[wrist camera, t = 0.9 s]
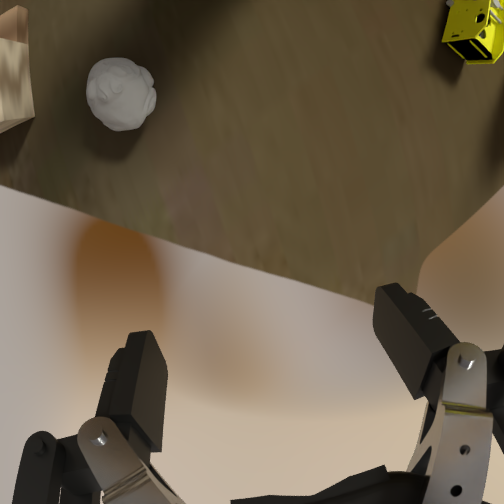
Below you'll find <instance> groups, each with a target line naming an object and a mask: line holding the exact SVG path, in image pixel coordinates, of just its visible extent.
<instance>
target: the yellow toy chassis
mask: <svg viewBox="0 0 504 504" xmlns="http://www.w3.org/2000/svg"><path fill="white" fill-rule="evenodd" d="M446 4H447V5H448V6H449V7H450V11H449V15H448V19H447V23H446V27H445V31H444V34H443V38H442V42H446V43H447V45H448V46H449V47H451V48H452V49H453V50H454V51H455V52H456V53H457V54H459V55H460V56H461V57H462V58H463V59H466V60H467V62H466V63H467V64H494V63H495V61H496V60H497V59H498V58H499V57H500V56H501V54H502V53H503V52H504V0H448V1H447V2H446Z"/></svg>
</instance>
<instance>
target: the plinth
mask: <svg viewBox="0 0 504 504" xmlns="http://www.w3.org/2000/svg"><path fill="white" fill-rule="evenodd" d="M33 117H35V113H34V106H33V98H32V89H31V79H30V67H29V48H28V9H26V8H23V7H21V6H18V5H17V6H15V7H14V8H12V9H10V10H9V11H7V12H6V13H4V14H2V15H1V16H0V133H2V132H4V131H6V130H8V129H10V128H12V127H14V126H16V125H18V124H20V123H22V122H24V121H26V120H29V119H31V118H33Z"/></svg>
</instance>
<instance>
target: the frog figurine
mask: <svg viewBox="0 0 504 504" xmlns="http://www.w3.org/2000/svg"><path fill="white" fill-rule="evenodd" d="M153 84H154V79H153V78H152V76H151V74H150V73H149V72H148V70H147V69H145V68H144V67H141V66H137V65H136V64H135V63H134V62H133V61H131V60H129V59H126V58H106V59H103V60H101V61H99V62H98V63H96V64H95V65H94V66H93V67H92V69H91V71H90V73H89V76H88V81H87V88H86V96H87V102H88V105H89V106H90V107H91V110H92V112H93V114H94V115H95V116H96V117H97V118H98V119H100V120H101V121H103V124H104V125H105V126H107V127H109V128H110V129H112V130H115V131H124V130H132V129H136V128H139V127H140V126H141V125H142V123H143V122H144V120H145V118H146V116H148V115H149V114H150V113H151V112H152V111H153V110H154V108H155V103H156V91H155V89H154V88H152V86H153Z"/></svg>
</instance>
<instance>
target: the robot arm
mask: <svg viewBox="0 0 504 504" xmlns="http://www.w3.org/2000/svg"><path fill="white" fill-rule="evenodd" d="M373 328H374V332H375V335H376V336H377V338H378V340H379V341H380V343H381V345H382V346H383V348H384V349H385V351H386V353H387V354H388V356H389V358H390V359H391V361H392V362H393V364H394V366H395V368H396V369H397V371H398V373H399V374H400V376H401V378H402V380H403V381H404V383H405V384H406V386H407V388H408V390H409V392H410V393H411V395H412V397H413V399H414V400H416V399H418V398H421V397H423V396H425V397H426V398H427V400H428V402H427V404H426V408H425V413H424V417H423V422H422V426H421V430H420V434H419V438H418V442H417V445H416V449H415V452H414V454H413V456H412V458H411V460H410V463H409V465H408V468H407V471H406V472H404V471H391V472H387V470H386V467H385V465H382V466H379V467H377V468H374V469H371V470H368V471H365V472H362V473H359V474H356V475H353V476H349V477H347V478H346V479H344V480H342V481H340V482H339V483H336V484H335V485H333V486H331V487H329V488H327V489H325V490H323V491H321V492H319V493H317V494H315V495H311V496H279V495H267V496H260V497H253V498H245V499H236V500H231V504H490V503H488V502H485V501H482V497H483V493H484V488H485V483H486V477H487V471H488V465H489V458H490V449H491V440H492V433H493V435H494V436H495V438H496V440H497V442H498V444H499V446H500V448H501V450H502V452H503V454H504V345H503V347H502V349H499V350H493V351H485V352H483V351H482V350H481V349H480V348H479V347H478V346H476V345H474V344H472V343H467V342H460V341H459V340H458V339H457V338H456V337H455V335H454V334H453V333H452V332H451V331H450V329H449V328H448V327H447V326H446V325H445V324H444V322H443V321H442V320H441V319H440V318H439V317H437V314H436V313H435V312H434V311H433V310H431V308H430V306H429V305H428V304H427V303H426V302H425V301H424V300H423V299H422V298H420V297H418V296H417V295H415V294H413V293H408V294H407V292H406V291H405V290H404V289H403V288H402V287H401V286H400V285H399V284H398V283H392V284H388V285H384V286H380V287H377V289H376V292H375V302H374V312H373ZM167 380H168V370H167V365H166V361H165V359H164V357H163V355H162V353H161V351H160V348H159V346H158V344H157V341H156V339H155V337H154V335H153V333H152V332H151V331H150V330H147V331H139V332H132V333H130V334H129V335H128V339H127V342H126V346H125V348H119V349H118V350H117V352H116V353H115V354H114V356H113V357H112V358H111V360H110V364H109V368H108V373H107V374H106V378H105V382H104V385H103V388H102V392H101V396H100V400H99V403H98V407H97V411H96V415H95V417H94V418H91V419H90V420H88V421H86V422H85V423H84V424H83V425H82V426H81V428H80V429H79V432H78V434H76V435H73V436H69V437H65V438H61V439H56V438H55V437H54V436H53V435H51V434H50V433H49V432H46V431H39V432H36V433H34V434H32V435H31V436H30V437H29V438H28V440H27V441H26V443H25V446H24V449H23V453H22V457H21V461H20V466H19V470H18V474H17V479H16V484H15V490H14V495H13V500H12V504H100V494H101V491H103V492H104V496H102V501H103V503H104V504H185V502H184V501H183V500H182V499H181V498H180V497H179V496H178V495H177V494H176V493H175V492H174V490H173V489H172V488H171V487H170V486H169V485H168V483H167V482H166V481H165V480H164V479H163V478H162V476H161V475H160V474H159V473H158V471H157V470H156V469H155V468H154V466H153V465H152V464H151V463H150V453H151V452H162V437H163V424H164V411H165V400H166V388H167ZM60 488H61V494H60ZM59 496H60V503H59Z"/></svg>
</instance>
